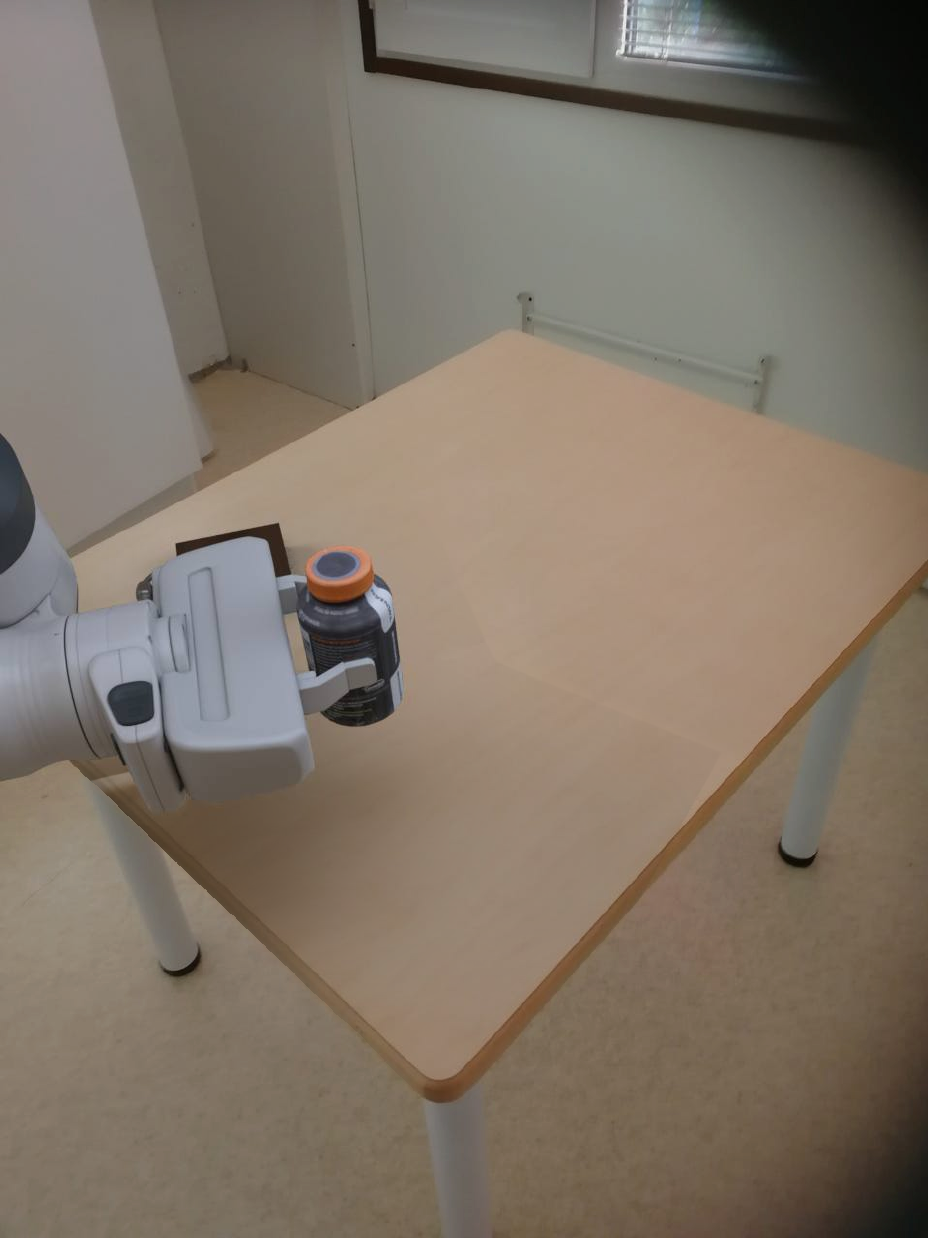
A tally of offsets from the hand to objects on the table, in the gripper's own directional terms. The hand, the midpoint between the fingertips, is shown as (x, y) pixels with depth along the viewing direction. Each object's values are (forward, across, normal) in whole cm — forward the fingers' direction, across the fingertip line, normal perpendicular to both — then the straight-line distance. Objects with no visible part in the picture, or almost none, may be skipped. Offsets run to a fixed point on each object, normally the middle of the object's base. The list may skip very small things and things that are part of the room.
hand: (362, 627), depth 60 cm
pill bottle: (-1, 0, -6) cm, 6 cm away
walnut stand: (-8, -29, -17) cm, 34 cm away
